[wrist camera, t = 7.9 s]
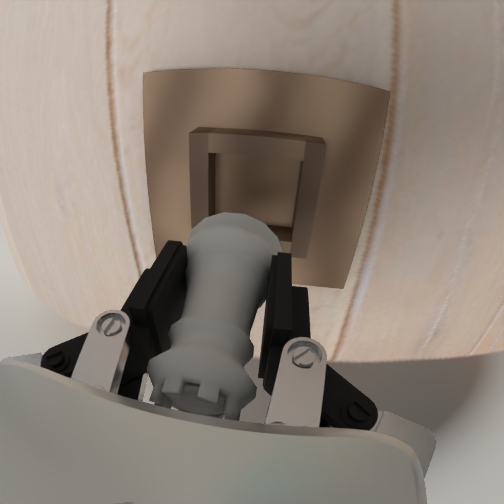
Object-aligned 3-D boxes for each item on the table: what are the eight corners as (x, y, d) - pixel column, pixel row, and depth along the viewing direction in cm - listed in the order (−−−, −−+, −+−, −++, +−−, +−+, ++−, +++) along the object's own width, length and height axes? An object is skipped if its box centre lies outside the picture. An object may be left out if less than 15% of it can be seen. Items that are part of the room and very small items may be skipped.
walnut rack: (384, 90, 16) (401, 93, 13) (341, 279, 25) (346, 305, 22) (150, 72, 16) (128, 73, 14) (162, 259, 25) (149, 281, 23)
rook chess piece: (221, 187, 12) (145, 342, 5) (304, 246, 13) (312, 416, 6) (172, 255, 14) (102, 397, 7) (246, 301, 15) (220, 448, 9)
